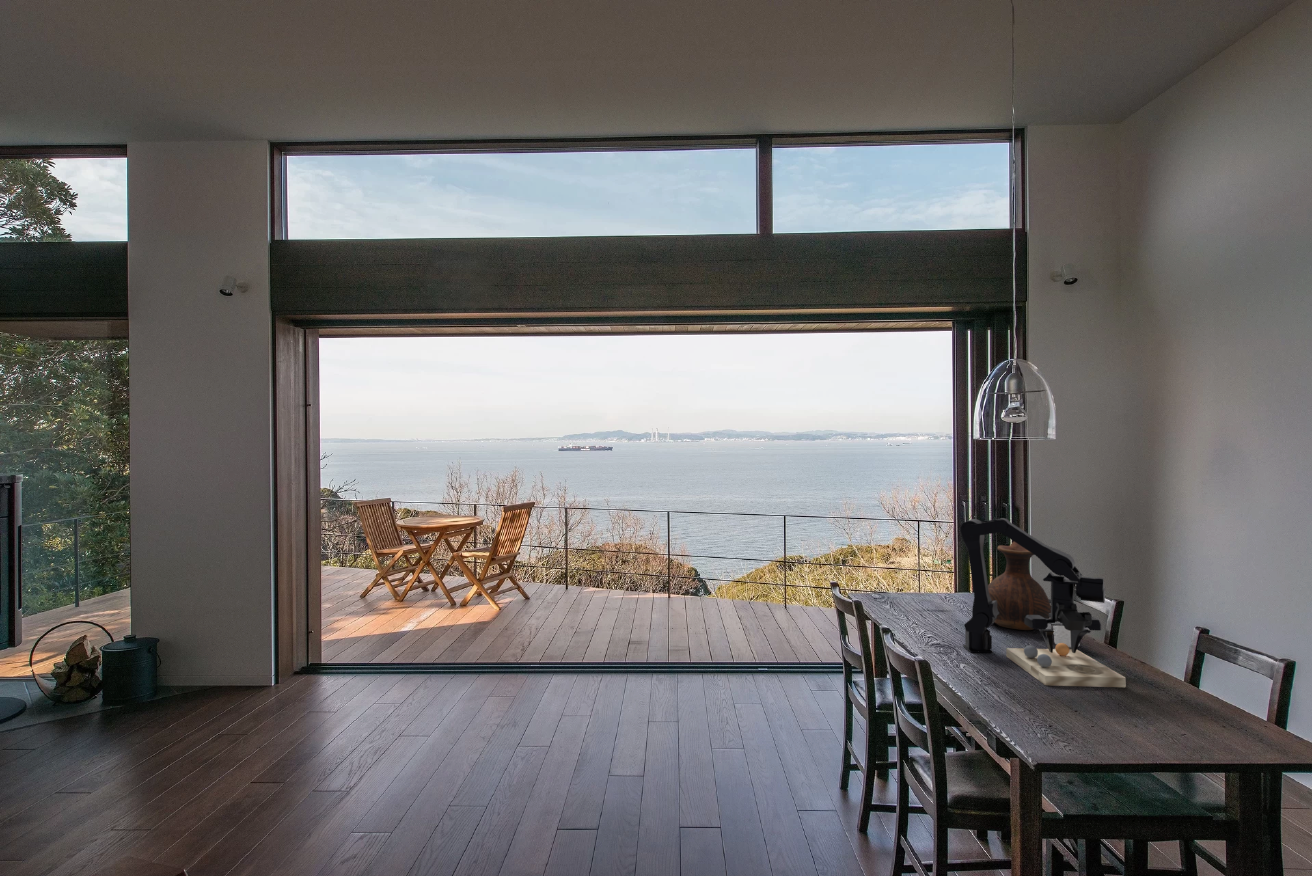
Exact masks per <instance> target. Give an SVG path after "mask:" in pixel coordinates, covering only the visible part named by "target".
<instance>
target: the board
mask: <svg viewBox="0 0 1312 876" xmlns="http://www.w3.org/2000/svg"><path fill="white" fill-rule="evenodd" d="M1024 648H1025V647H1024ZM1024 648H1019V647H1018V648H1015V647H1014V648H1013V647H1012V648H1011V647H1010V648H1009V647H1007V648H1006V649H1005V650H1006V651H1005V652H1006V653H1005V654H1006V655H1005V656H1006V658H1008V660H1010V661H1012V662H1013V663H1015V664H1016V665H1017V666H1019V667H1020V668H1021V669H1023V670H1024V671H1025V672H1026V673H1028V674H1029V675H1030V676H1032V677H1033V678H1035V679H1036V680H1037V681H1039V682H1040V683H1041V684H1042V685H1044V686H1050V687H1051V686H1055V687H1056V686H1058V687H1059V686H1060V687H1094V688H1097V687H1099V688H1100V687H1101V688H1126V687H1127V686H1126V685H1127V684H1126V677H1125V675H1124V676H1123V675H1122V674H1120V673H1119V672H1116V671H1115V670H1113V669H1111V668H1109V667H1108V666H1107V665H1105V664H1103V663H1100V662H1099V661H1097V660H1096V659H1095V658H1092V657H1091V656H1089V655H1087V654H1085V653H1083V652H1082V651H1080V650H1078V649H1077V650H1076V653H1072V649H1071V648H1069V653H1068V654H1067V655H1065V656H1062V655H1059V654H1058V653H1057V652H1056V650H1055V648H1053V653H1051V652H1050V651H1049V649H1048V648H1036V649H1037V650H1038V655H1037V656H1036V657H1035V658H1029V657H1027V656H1026V655H1025V654H1024ZM1041 654H1046V655H1048V656H1049V657H1050V658H1051V660H1052V664H1051V666H1049V667H1047V668H1044V667H1041V666H1040V665H1039V664H1038V662H1037V658H1038V656H1039V655H1041Z"/></svg>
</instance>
